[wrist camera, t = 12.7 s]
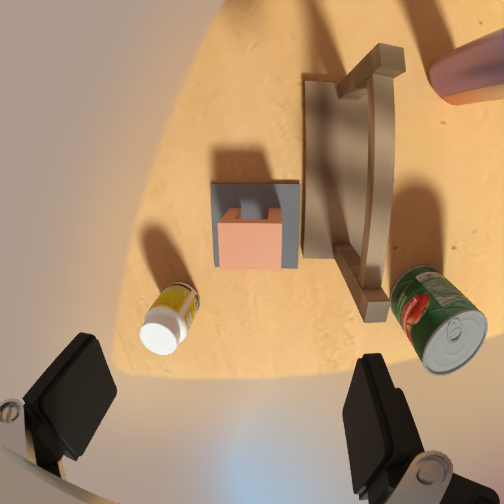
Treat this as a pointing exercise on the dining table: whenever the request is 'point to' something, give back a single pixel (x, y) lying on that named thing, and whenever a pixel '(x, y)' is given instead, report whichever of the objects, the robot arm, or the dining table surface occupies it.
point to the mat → (260, 211)
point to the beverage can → (471, 71)
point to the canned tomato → (437, 320)
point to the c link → (250, 241)
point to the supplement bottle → (170, 318)
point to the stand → (353, 174)
